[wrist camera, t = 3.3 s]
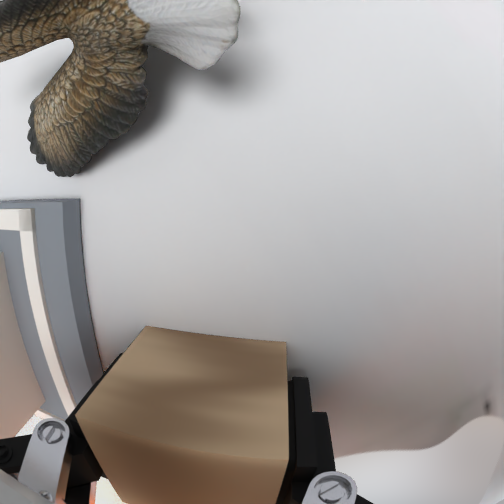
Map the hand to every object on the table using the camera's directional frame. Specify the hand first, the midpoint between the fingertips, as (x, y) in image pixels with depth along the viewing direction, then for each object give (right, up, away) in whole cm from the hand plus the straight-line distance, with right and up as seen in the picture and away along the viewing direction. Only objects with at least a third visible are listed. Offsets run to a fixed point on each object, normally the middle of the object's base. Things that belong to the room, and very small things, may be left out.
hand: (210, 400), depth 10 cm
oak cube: (0, 0, +1) cm, 1 cm away
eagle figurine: (-3, +12, -2) cm, 13 cm away
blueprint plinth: (-13, +2, +1) cm, 13 cm away
